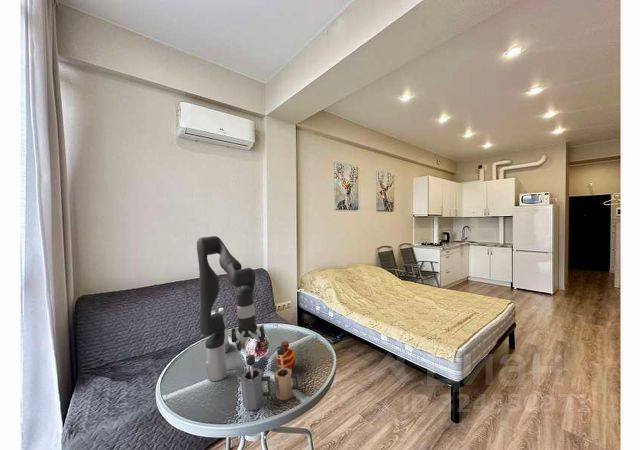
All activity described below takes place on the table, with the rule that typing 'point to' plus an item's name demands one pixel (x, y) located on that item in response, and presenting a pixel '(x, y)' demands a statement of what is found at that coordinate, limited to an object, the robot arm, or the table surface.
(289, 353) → the potion bottle
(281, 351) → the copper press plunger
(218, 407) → the table surface
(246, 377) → the steel press carafe
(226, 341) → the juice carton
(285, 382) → the tan handled cylinder
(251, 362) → the steel press plunger
